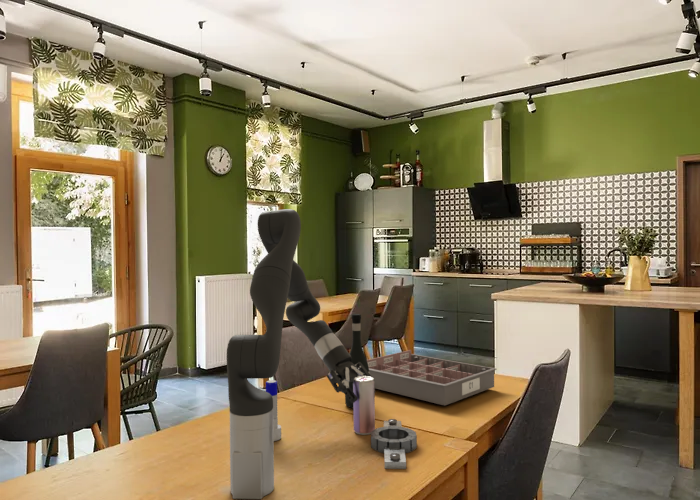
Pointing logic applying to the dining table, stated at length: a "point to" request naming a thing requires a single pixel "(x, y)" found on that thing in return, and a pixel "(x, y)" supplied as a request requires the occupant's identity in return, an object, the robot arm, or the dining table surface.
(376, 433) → the pipe clamp bracket
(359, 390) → the beverage can
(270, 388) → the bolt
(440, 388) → the organizer tray
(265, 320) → the robot arm
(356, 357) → the wine bottle
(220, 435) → the dining table surface
